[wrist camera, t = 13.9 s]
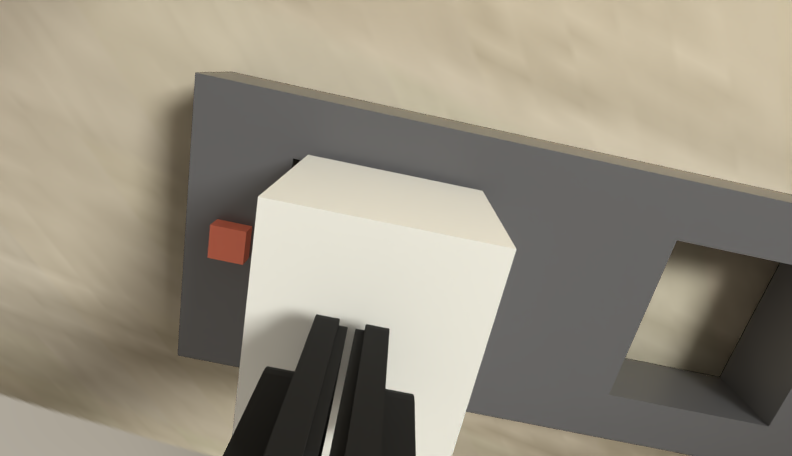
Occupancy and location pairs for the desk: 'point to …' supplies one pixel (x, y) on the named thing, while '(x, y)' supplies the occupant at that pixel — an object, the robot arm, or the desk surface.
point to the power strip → (515, 261)
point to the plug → (377, 283)
